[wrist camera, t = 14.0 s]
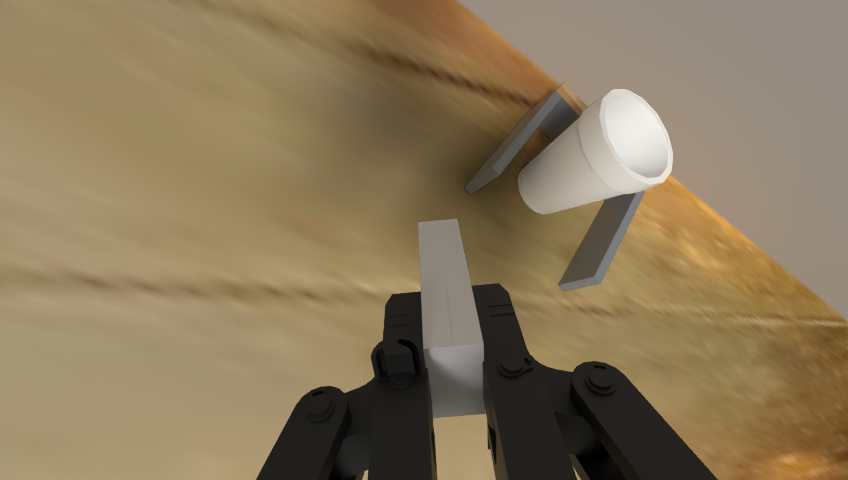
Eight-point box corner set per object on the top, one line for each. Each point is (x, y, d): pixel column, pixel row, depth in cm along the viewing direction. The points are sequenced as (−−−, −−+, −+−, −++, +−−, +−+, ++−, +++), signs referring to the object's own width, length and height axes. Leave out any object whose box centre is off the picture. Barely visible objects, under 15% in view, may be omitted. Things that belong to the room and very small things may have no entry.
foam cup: (581, 211, 51) (686, 167, 40) (532, 240, 46) (636, 198, 35) (545, 143, 51) (639, 80, 40) (493, 163, 46) (583, 99, 35)
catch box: (464, 187, 44) (497, 164, 39) (530, 109, 51) (564, 81, 46) (564, 291, 46) (607, 282, 41) (612, 201, 54) (653, 184, 49)
